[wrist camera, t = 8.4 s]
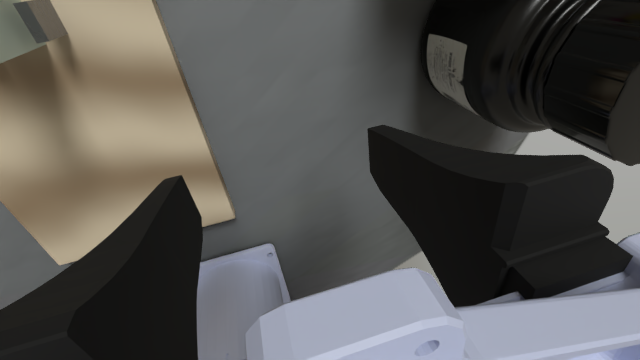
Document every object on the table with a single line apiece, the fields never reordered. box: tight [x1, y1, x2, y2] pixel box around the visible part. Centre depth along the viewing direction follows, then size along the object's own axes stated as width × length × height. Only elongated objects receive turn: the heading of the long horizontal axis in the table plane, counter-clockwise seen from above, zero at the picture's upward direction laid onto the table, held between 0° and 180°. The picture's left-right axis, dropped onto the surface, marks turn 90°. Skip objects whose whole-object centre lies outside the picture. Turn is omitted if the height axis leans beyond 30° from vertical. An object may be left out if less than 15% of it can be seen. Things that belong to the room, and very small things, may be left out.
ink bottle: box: [421, 0, 640, 166], centre depth 17 cm, size 10×9×12 cm
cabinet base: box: [0, 0, 235, 265], centre depth 17 cm, size 22×12×1 cm, turn 8°
